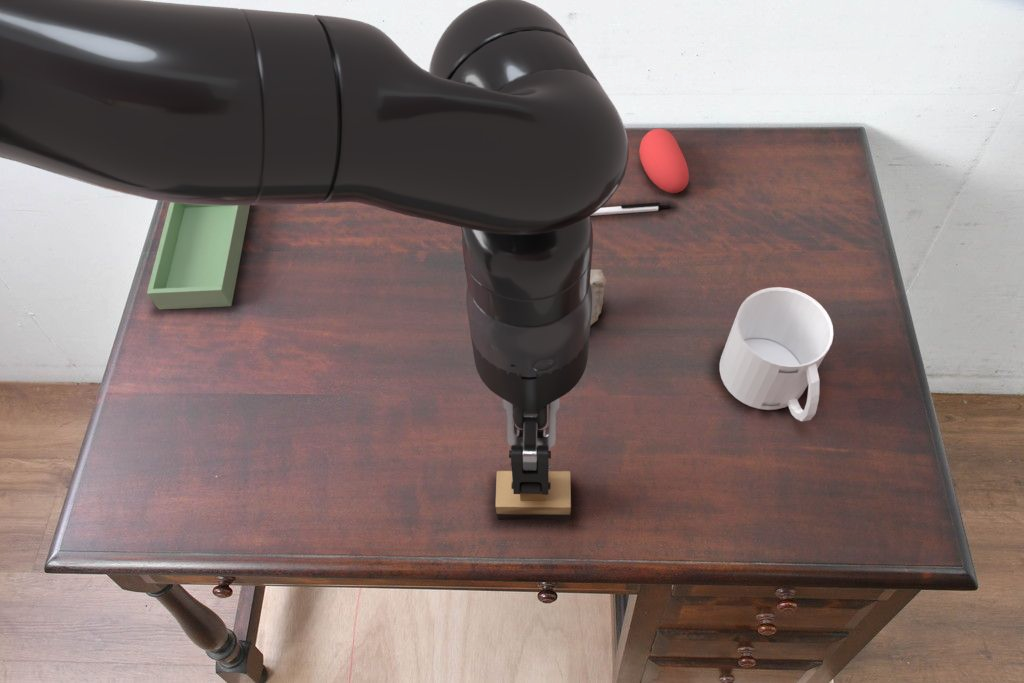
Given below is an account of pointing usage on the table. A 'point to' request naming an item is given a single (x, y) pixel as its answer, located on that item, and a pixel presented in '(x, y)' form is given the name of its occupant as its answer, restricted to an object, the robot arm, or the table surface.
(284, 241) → the table surface
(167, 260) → the tray
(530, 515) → the scrub brush
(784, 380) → the mug
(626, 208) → the pen
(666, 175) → the stress ball
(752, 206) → the table surface
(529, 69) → the robot arm
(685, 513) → the table surface
